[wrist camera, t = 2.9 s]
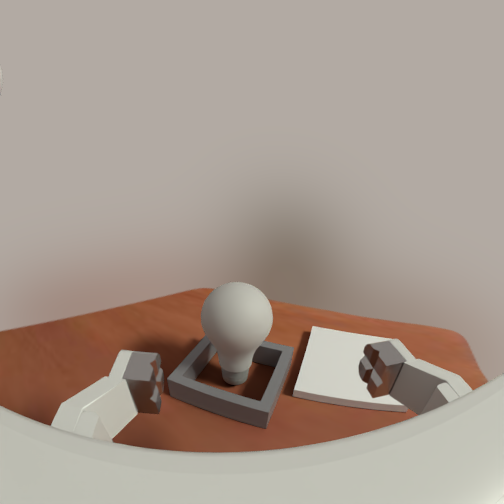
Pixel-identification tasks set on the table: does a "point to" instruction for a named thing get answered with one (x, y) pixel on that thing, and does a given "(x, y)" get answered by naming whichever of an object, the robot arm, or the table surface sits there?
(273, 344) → the frame
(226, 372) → the lightbulb
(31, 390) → the table surface
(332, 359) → the mat
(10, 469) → the robot arm
